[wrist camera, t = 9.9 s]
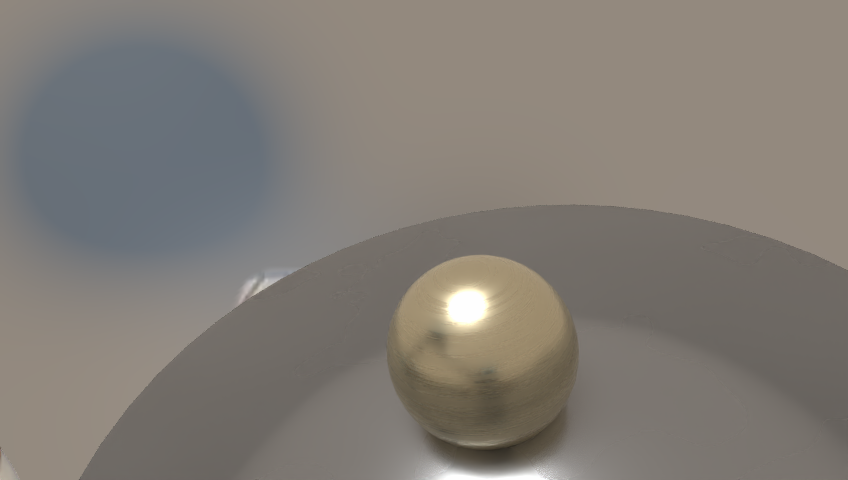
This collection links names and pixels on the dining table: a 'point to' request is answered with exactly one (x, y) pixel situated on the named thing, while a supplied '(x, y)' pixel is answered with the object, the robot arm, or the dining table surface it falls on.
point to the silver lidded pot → (514, 360)
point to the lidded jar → (6, 468)
